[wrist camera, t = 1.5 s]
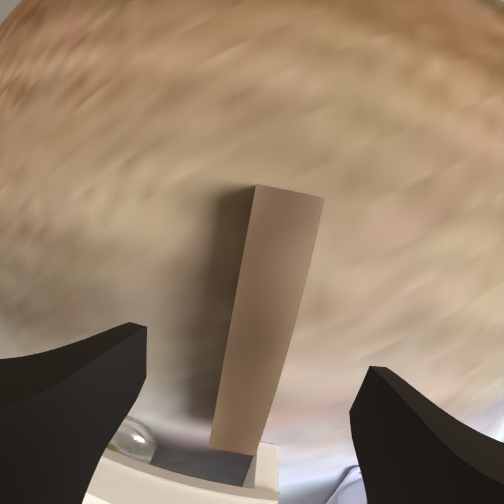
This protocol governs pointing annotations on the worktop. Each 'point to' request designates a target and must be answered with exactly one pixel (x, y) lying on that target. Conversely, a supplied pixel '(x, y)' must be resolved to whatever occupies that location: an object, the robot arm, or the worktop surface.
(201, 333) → the worktop surface
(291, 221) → the tan long block
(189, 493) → the cream step stool
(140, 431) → the clear glass cup
